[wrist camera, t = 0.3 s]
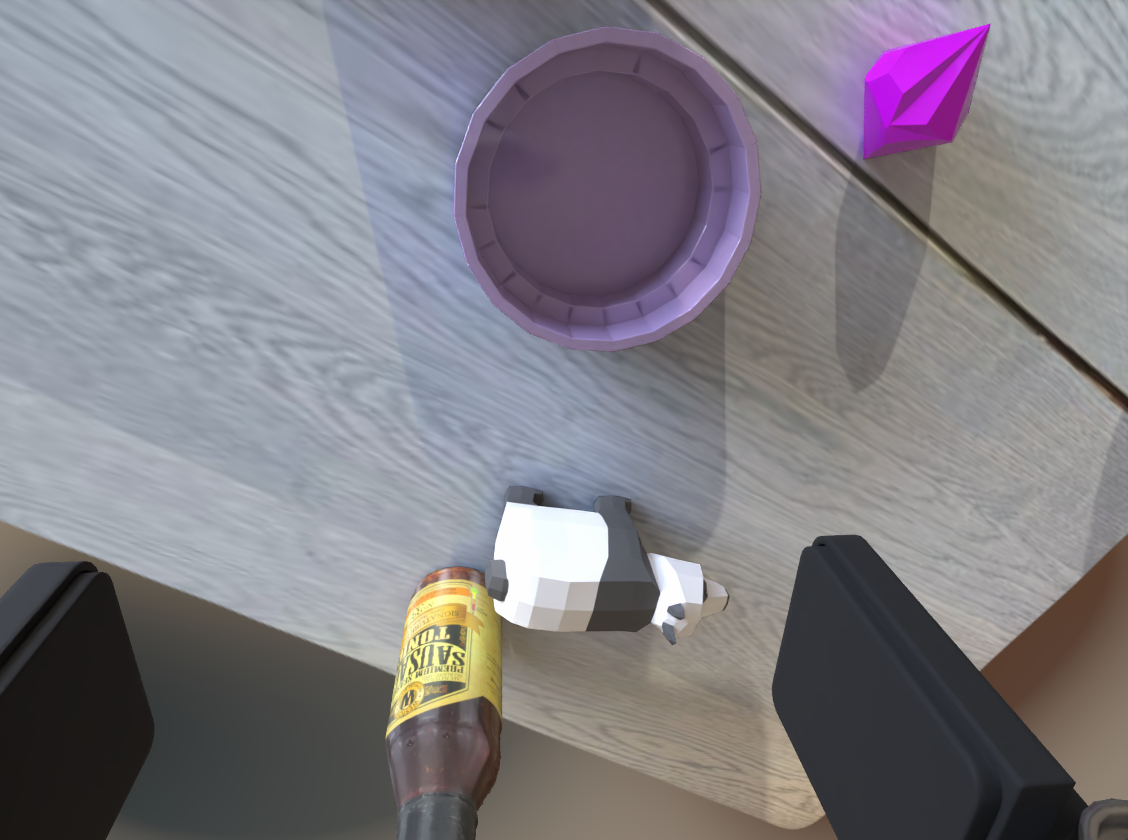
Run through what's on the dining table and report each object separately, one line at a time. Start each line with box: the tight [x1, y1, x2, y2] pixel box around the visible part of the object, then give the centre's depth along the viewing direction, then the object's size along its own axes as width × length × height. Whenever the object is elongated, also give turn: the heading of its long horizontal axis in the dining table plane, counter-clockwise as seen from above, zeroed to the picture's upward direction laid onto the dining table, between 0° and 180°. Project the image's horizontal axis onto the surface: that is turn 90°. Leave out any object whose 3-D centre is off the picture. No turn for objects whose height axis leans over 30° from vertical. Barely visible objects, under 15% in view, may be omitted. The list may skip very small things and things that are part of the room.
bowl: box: [453, 26, 761, 352], centre depth 34 cm, size 14×14×6 cm
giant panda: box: [484, 487, 729, 645], centre depth 42 cm, size 15×6×10 cm, turn 78°
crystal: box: [864, 24, 991, 159], centre depth 34 cm, size 5×5×5 cm
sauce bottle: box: [385, 567, 502, 840], centre depth 38 cm, size 7×6×20 cm
